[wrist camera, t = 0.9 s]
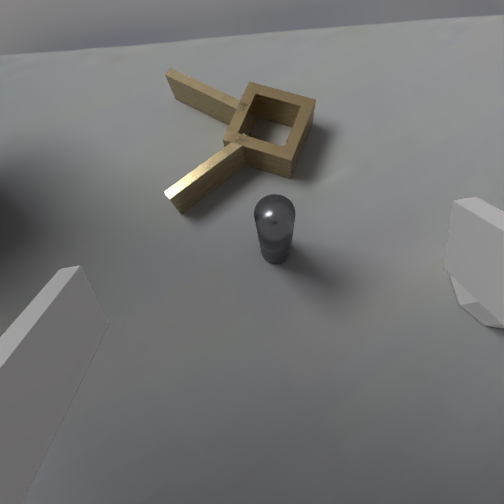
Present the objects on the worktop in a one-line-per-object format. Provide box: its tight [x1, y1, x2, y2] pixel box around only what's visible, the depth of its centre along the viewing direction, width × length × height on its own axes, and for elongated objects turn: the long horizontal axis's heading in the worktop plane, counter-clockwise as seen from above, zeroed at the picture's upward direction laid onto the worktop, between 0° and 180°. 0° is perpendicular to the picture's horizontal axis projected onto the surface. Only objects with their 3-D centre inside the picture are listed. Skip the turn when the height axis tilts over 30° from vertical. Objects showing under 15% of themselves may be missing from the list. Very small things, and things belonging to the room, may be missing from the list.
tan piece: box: [164, 68, 316, 214], centre depth 42 cm, size 20×18×4 cm
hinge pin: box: [254, 194, 295, 264], centre depth 35 cm, size 4×4×12 cm
